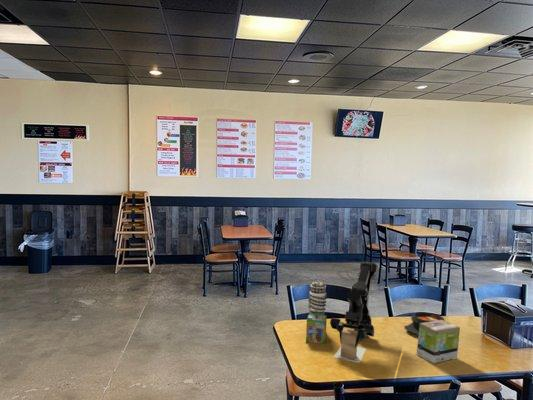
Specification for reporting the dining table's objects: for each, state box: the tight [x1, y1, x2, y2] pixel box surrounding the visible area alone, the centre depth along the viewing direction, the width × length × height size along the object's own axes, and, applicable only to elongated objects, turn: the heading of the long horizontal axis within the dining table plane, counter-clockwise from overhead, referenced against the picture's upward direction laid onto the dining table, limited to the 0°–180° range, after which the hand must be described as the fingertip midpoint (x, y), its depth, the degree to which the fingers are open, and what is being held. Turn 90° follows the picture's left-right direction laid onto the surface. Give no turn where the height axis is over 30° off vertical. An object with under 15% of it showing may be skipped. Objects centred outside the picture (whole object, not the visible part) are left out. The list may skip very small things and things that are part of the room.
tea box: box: [416, 319, 461, 364], centre depth 179 cm, size 15×10×15 cm
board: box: [333, 346, 367, 364], centre depth 176 cm, size 16×11×1 cm
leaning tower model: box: [307, 281, 328, 315], centre depth 201 cm, size 9×9×25 cm
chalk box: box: [305, 309, 328, 345], centre depth 190 cm, size 9×9×15 cm
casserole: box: [404, 311, 446, 336], centre depth 208 cm, size 25×19×8 cm
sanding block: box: [340, 328, 358, 360], centre depth 172 cm, size 4×6×11 cm, turn 66°
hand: (348, 345), depth 171 cm, fingers closed on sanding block, 6 cm apart
